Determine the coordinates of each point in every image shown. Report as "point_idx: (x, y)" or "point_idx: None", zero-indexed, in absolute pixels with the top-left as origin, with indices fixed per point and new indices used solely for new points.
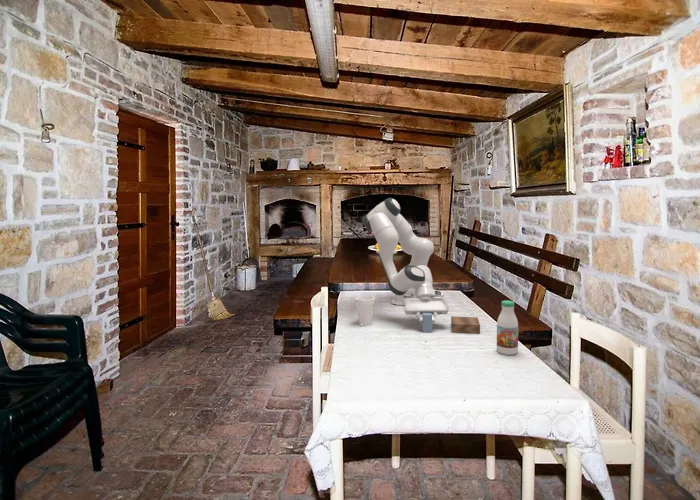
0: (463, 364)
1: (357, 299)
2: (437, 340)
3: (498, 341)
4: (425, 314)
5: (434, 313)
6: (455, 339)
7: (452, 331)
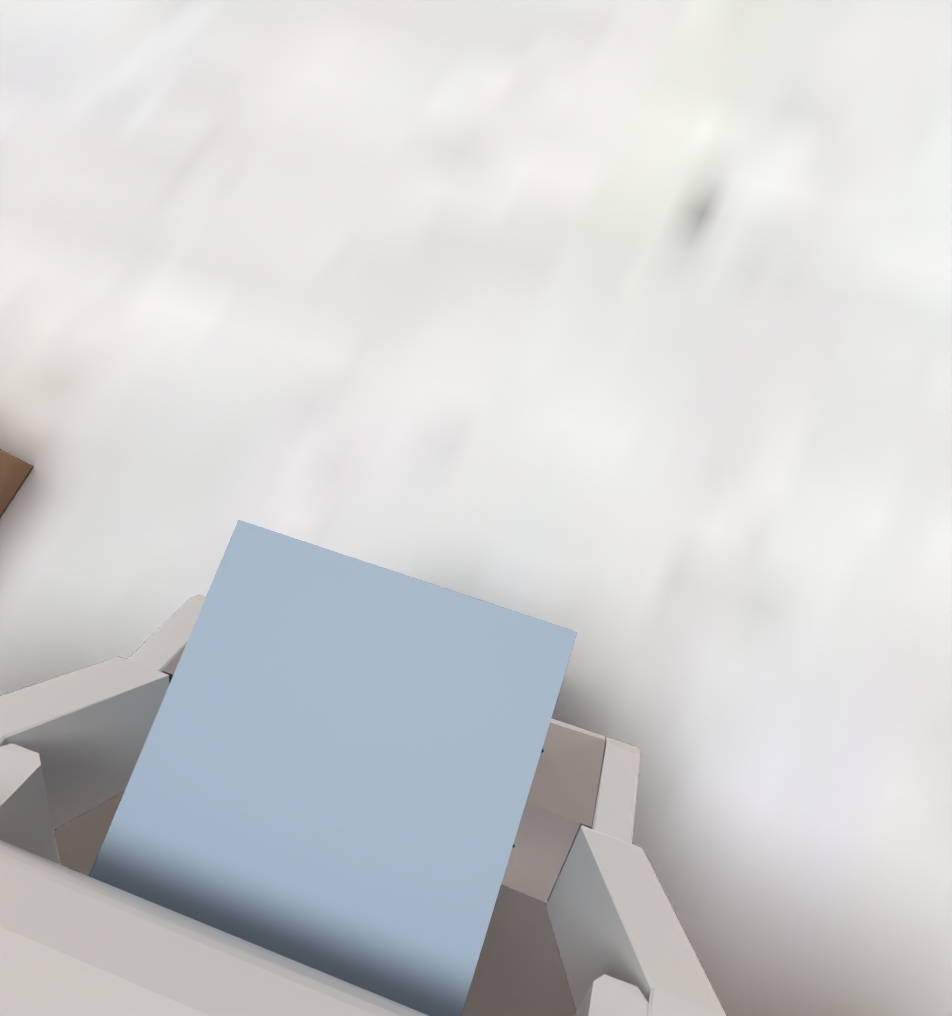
0: None
1: None
2: (487, 195)
3: None
4: (446, 693)
5: (5, 765)
6: (189, 161)
7: (11, 457)
